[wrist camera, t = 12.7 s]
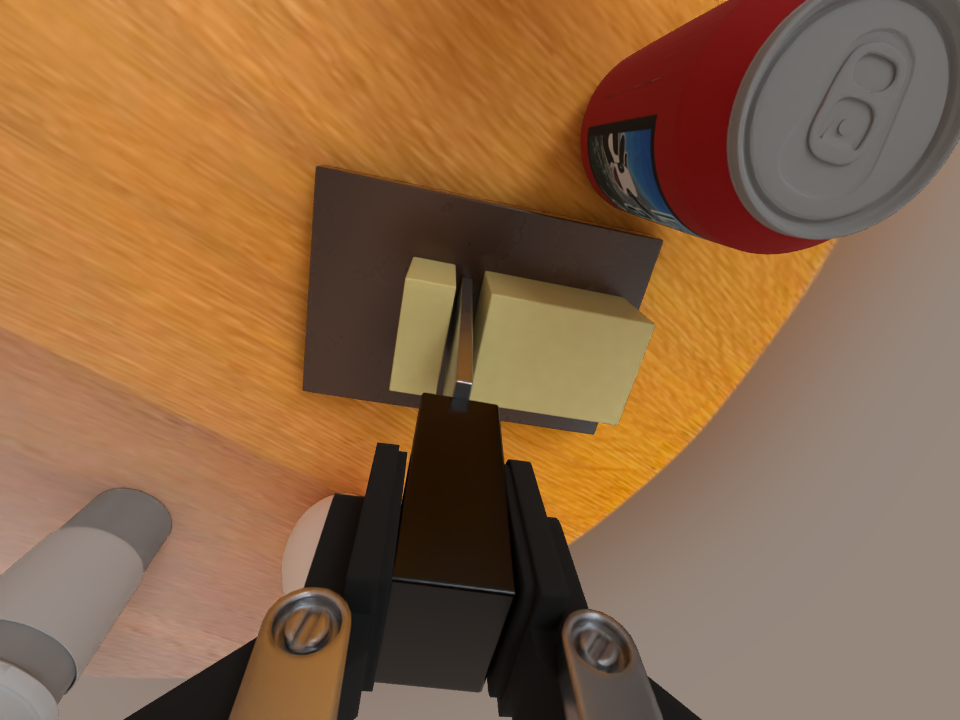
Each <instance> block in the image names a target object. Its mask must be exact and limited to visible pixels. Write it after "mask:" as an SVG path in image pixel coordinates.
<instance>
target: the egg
mask: <svg viewBox="0 0 960 720" xmlns="http://www.w3.org/2000/svg"><path fill="white" fill-rule="evenodd" d="M341 494H345V495H354V496H359V495H356V494H349V493H341ZM333 496H334V495H331V496H329V497H326V498H324V499H322V500H320V501H319V502H317V503H316V504H314V505H313V506H311V507H310V508H309V509H308V510H307V511H306V512H305V513H304V514H303V515H302V516H301V518H300V519H299V520H298V522H297V523H296V525H295V527H294V528H293V530H292V532H291V534H290V536H289V538H288V541H287V545H286V548H285V551H284V554H283V560H282V566H281V575H282V588H283V593H284V596H285V595H287V594H288V593H290V592H292V591H295V590H298V589H301V588H304V585H305V582H306V579H307V576H308V573H309V569H310V566H311V563H312V560H313V557H314V554H315V551H316V548H317V545H318V542H319V539H320V536H321V533H322V530H323V527H324V523H325V520H326V517H327V514H328V511H329V508H330V505H331V502H332V499H333Z"/></svg>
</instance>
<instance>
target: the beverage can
mask: <svg viewBox="0 0 960 720" xmlns="http://www.w3.org/2000/svg"><path fill="white" fill-rule="evenodd" d="M959 139H960V0H728V1H726V2H725V3H723V4H721V5H719V6H717V7H715V8H713V9H712V10H710V11H708V12H706V13H704V14H703V15H701V16H699V17H697V18H695V19H694V20H692V21H690V22H688V23H686V24H684V25H683V26H681V27H679V28H677V29H676V30H674V31H672V32H670V33H669V34H667V35H665V36H663V37H661V38H660V39H658V40H656V41H654V42H653V43H651V44H649V45H648V46H646V47H644V48H643V49H641V50H639V51H637V52H636V53H634V54H632V55H631V56H629V57H627V58H626V59H625V60H623V61H622V62H620V63H619V64H618V65H617V66H615V67H614V68H613V69H612V70H611V71H610V72H609V73H608V74H607V75H606V77H605V78H604V79H603V80H602V82H601V83H600V84H599V86H598V87H597V89H596V90H595V92H594V94H593V96H592V98H591V100H590V102H589V104H588V107H587V110H586V112H585V116H584V119H583V124H582V130H581V156H582V161H583V165H584V169H585V172H586V174H587V177H588V179H589V181H590V182H591V184H592V186H593V187H594V189H595V190H596V191H597V193H598V194H599V195H600V196H601V197H602V198H603V199H604V200H605V201H607V202H608V203H609V204H611V205H613V206H614V207H616V208H618V209H620V210H623V211H626V212H628V213H631V214H634V215H636V216H639V217H641V218H644V219H647V220H650V221H653V222H656V223H658V224H661V225H664V226H667V227H670V228H673V229H676V230H679V231H681V232H684V233H687V234H690V235H693V236H696V237H699V238H703V239H706V240H709V241H712V242H715V243H718V244H721V245H725V246H728V247H731V248H734V249H737V250H741V251H745V252H749V253H755V254H782V253H789V252H794V251H798V250H803V249H806V248H810V247H813V246H815V245H818V244H821V243H823V242H825V241H828V240H830V239H834V238H839V237H844V236H848V235H851V234H854V233H857V232H860V231H863V230H865V229H868V228H869V227H872V226H873V225H876V224H878V223H879V222H881V221H883V220H885V219H886V218H888V217H890V216H891V215H893V214H894V213H896V212H897V211H898V210H900V209H901V208H902V207H904V206H905V205H906V204H907V203H909V202H910V201H911V200H912V199H913V198H914V197H915V196H916V195H917V194H919V193H920V192H921V191H922V190H923V189H924V188H925V187H926V185H928V183H929V182H930V181H931V180H932V178H934V176H935V175H936V174H937V173H938V171H939V170H940V169H941V167H942V166H943V165H944V164H945V162H946V160H947V159H948V158H949V156H950V154H951V153H952V151H953V149H954V148H955V146H956V145H957V143H958V141H959Z"/></svg>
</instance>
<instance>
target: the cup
mask: <svg viewBox="0 0 960 720" xmlns="http://www.w3.org/2000/svg"><path fill="white" fill-rule="evenodd" d="M171 527H172V521H171V517H170V514H169V512H168V511H167V509H166V508H165V507H164V506H163V505H162V504H161V503H160V502H159V501H158V500H157V499H155V498H154V497H152V496H150V495H148V494H146V493H143V492H141V491H138V490H133V489H125V488H119V489H112V490H107V491H105V492H103V493H101V494H100V495H98V496H97V497H96V498H95V499H93V500H92V501H91V502H90V503H89V504H88V505H87V506H85V507H84V508H83V509H82V510H81V511H80V512H78V513H77V514H76V515H75V516H74V517H73V518H71V519H70V520H69V521H68V522H67V523H66V524H64V525H63V526H62V527H61V528H60V529H59V530H57V531H55V532H53V533H51V534H49V535H48V536H47V537H45V538H44V539H43V540H42V541H41V542H39V543H38V544H37V545H36V546H35V547H34V548H32V549H31V550H30V551H29V552H28V553H26V554H25V555H24V556H23V557H22V558H21V559H19V560H18V561H17V562H16V563H15V564H14V565H12V566H11V567H10V568H9V569H8V570H7V571H5V572H4V573H3V574H2V575H1V576H0V720H59V709H58V706H57V705H58V703H59V702H60V700H61V698H62V697H63V695H65V694H67V693H68V692H69V691H70V690H71V689H72V688H73V686H74V685H75V683H76V682H77V680H78V679H79V677H80V675H81V674H82V672H83V671H84V669H85V668H86V666H87V665H88V663H89V662H90V660H91V658H92V657H93V655H94V654H95V652H96V651H97V649H98V648H99V646H100V645H101V643H102V641H103V640H104V638H105V637H106V635H107V634H108V632H109V631H110V629H111V627H112V626H113V624H114V623H115V621H116V620H117V618H118V617H119V615H120V614H121V612H122V610H123V609H124V607H125V606H126V604H127V603H128V601H129V600H130V598H131V596H132V595H133V593H134V592H135V590H136V589H137V587H138V586H139V584H140V582H141V580H142V578H143V573H144V572H145V570H146V569H147V567H148V566H149V564H150V562H151V561H152V559H153V558H154V556H155V555H156V553H157V552H158V550H159V549H160V547H161V546H162V544H163V543H164V541H165V540H166V538H167V536H168V535H169V533H170V531H171Z"/></svg>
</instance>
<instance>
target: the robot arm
mask: <svg viewBox="0 0 960 720" xmlns="http://www.w3.org/2000/svg"><path fill="white" fill-rule="evenodd" d="M406 460H407V452H402V451H399V445H394V444H386V443H377V447H376V451H375V455H374V460H373V464H372V468H371V473H370V477H369V481H368V486H367V490H366V494H365V497H363V496H354V495H345V494H336V493H335V494H334V496H333V499H332V502H331V505H330V508H329V511H328V514H327V517H326V520H325V523H324V527H323V530H322V533H321V536H320V539H319V542H318V545H317V548H316V551H315V554H314V557H313V560H312V563H311V566H310V569H309V573H308V576H307V579H306V582H305V585H304V588H301V589H298V590H295V591H292V592H290V593H288V594H287V595H285V596H283V597H282V598H280V599H279V600H278V601H277V602H276V603H275V604H274V605H273V606H272V607H271V608H270V609H269V610H268V612H267V614H266V616H265V618H264V620H263V622H262V625H261V628H260V631H259V633H258V636H257V638H255V639H253V640H252V641H250V642H248V643H247V644H245V645H244V646H242V647H240V648H239V649H237V650H235V651H234V652H232V653H231V654H229V655H227V656H226V657H224V658H223V659H221V660H219V661H218V662H216V663H214V664H213V665H211V666H210V667H208V668H206V669H205V670H203V671H201V672H200V673H198V674H197V675H195V676H193V677H192V678H190V679H188V680H187V681H185V682H184V683H182V684H180V685H179V686H177V687H176V688H174V689H172V690H171V691H169V692H167V693H166V694H164V695H163V696H161V697H159V698H158V699H156V700H155V701H153V702H151V703H150V704H148V705H146V706H145V707H143V708H142V709H140V710H138V711H137V712H135V713H133V714H132V715H131V716H129V717H127V718H125V719H124V720H354V719H355V718H356V717H357V716H358V710H359V704H360V697H361V691H372V690H373V685H374V679H375V674H376V668H377V663H378V657H379V651H380V646H381V640H382V635H383V629H384V624H385V618H386V612H387V607H388V601H389V596H390V590H391V583H392V577H393V569H394V561H395V553H396V544H397V536H398V527H399V519H400V510H401V502H402V494H403V485H404V477H405V468H406ZM505 474H506V485H507V496H508V505H509V514H510V524H511V534H512V544H513V554H514V564H515V574H516V584H517V596H516V599H515V602H514V604H513V607H512V610H511V613H510V615H509V618H508V621H507V624H506V626H505V629H504V632H503V634H502V637H501V640H500V643H499V645H498V648H497V651H496V654H495V656H494V659H493V662H492V665H491V667H490V670H489V673H488V675H487V683H488V692H489V696H490V697H497V702H498V712H499V716H500V717H512V720H701V719H700V718H699V717H698V716H696V715H695V714H694V713H693V712H691V711H690V710H689V709H688V708H686V707H685V706H684V705H683V704H682V703H680V702H679V701H678V700H677V699H675V698H674V697H673V696H672V695H671V694H669V693H668V692H667V691H666V690H664V689H663V688H662V687H661V686H659V685H658V684H657V683H656V682H654V681H653V680H652V679H651V678H649V677H648V676H647V674H646V671H645V668H644V666H643V663H642V660H641V657H640V655H639V652H638V649H637V647H636V645H635V643H634V641H633V639H632V637H631V635H630V634H629V633H628V632H627V631H626V629H625V628H624V627H623V626H622V625H621V624H620V623H618V622H617V621H616V620H615V619H613V618H612V617H610V616H608V615H607V614H604V613H603V612H600V611H596V610H592V609H588V606H587V603H586V600H585V597H584V594H583V591H582V588H581V585H580V582H579V578H578V575H577V572H576V570H575V566H574V564H573V560H572V557H571V554H570V551H569V548H568V545H567V542H566V539H565V536H564V533H563V530H562V527H561V524H560V522H559V520H558V519H557V518H553V517H547V515H546V512H545V508H544V505H543V502H542V498H541V495H540V492H539V488H538V485H537V482H536V478H535V475H534V472H533V468H532V465H531V463H530V462H526V461H519V460H511V459H509V460H507V462H506V465H505Z"/></svg>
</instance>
